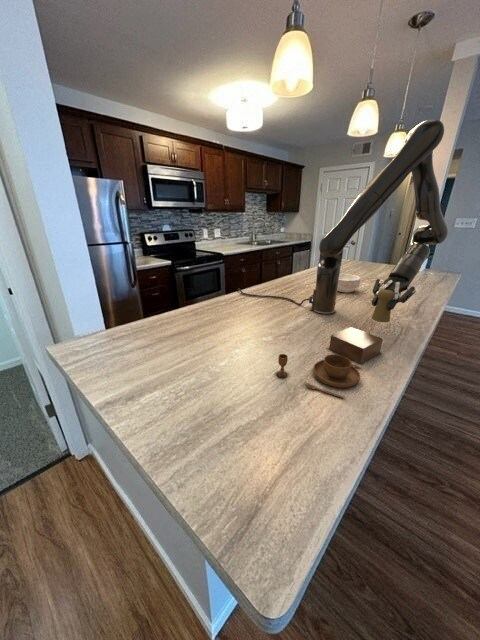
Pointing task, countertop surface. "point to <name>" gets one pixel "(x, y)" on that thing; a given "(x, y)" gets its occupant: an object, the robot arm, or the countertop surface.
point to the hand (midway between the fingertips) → (380, 307)
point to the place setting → (329, 371)
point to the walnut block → (355, 344)
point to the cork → (383, 306)
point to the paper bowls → (348, 283)
